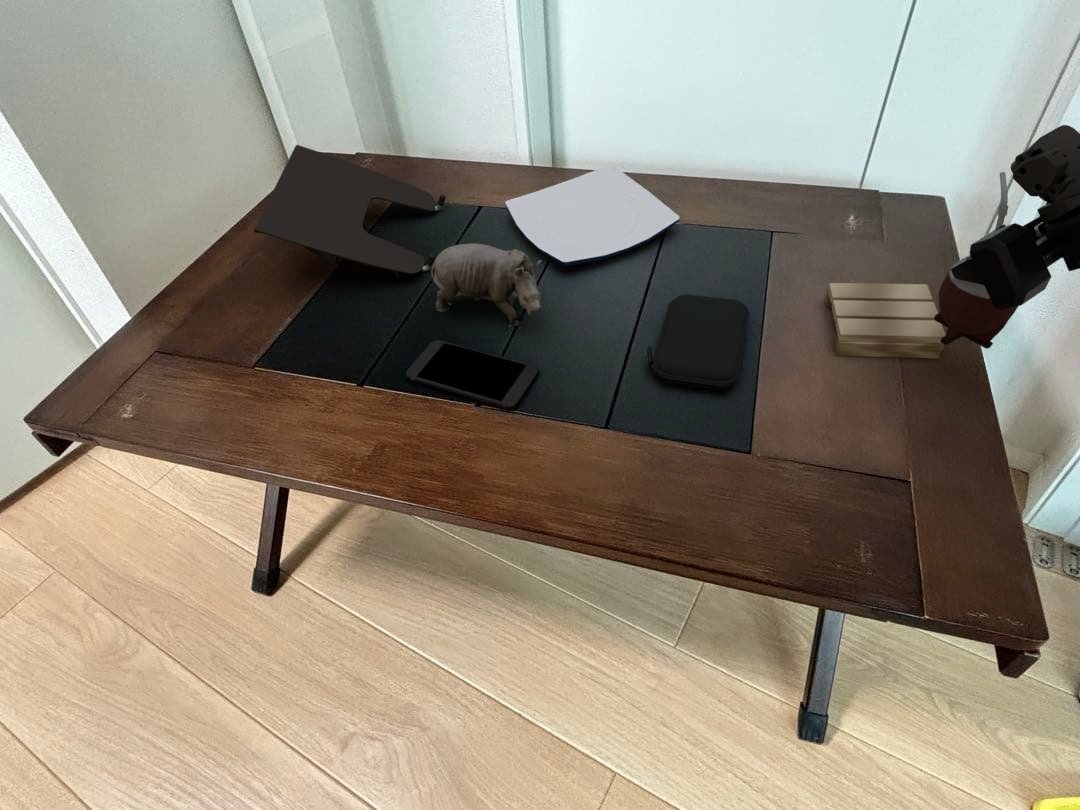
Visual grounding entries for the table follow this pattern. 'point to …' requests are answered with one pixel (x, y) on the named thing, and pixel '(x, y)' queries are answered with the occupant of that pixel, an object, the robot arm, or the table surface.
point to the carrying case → (701, 342)
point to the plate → (590, 217)
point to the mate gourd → (972, 301)
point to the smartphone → (473, 374)
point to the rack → (885, 320)
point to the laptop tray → (340, 211)
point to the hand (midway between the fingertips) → (972, 261)
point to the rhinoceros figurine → (486, 277)
